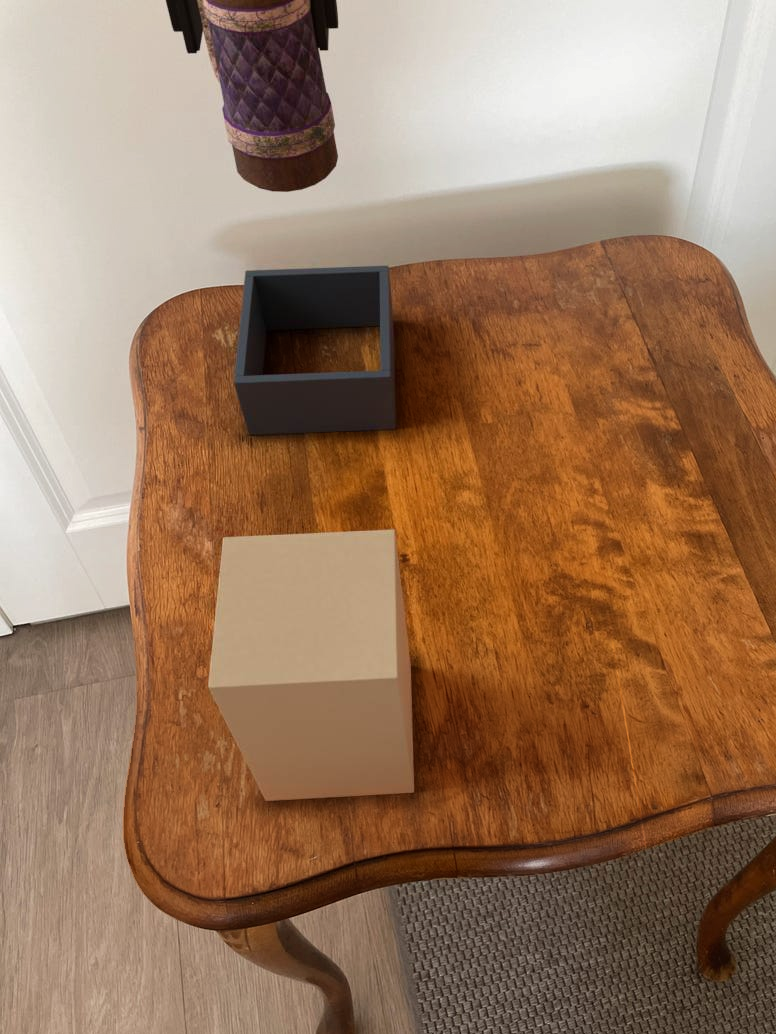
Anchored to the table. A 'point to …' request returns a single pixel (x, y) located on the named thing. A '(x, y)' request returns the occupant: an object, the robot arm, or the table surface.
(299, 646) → the block
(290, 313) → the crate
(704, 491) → the table surface
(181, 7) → the robot arm
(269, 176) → the mug
